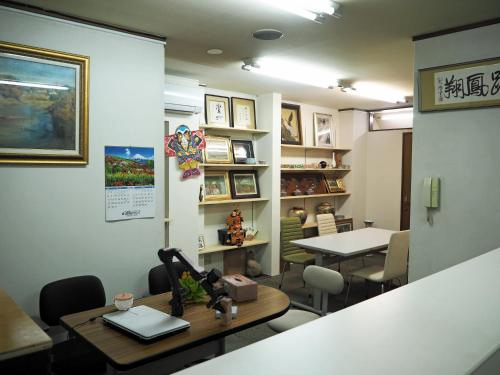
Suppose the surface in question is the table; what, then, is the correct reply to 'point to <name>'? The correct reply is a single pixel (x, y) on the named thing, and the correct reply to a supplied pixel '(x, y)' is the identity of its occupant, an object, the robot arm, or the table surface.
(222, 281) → the tissue box cover
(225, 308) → the walnut block
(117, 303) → the lidded jar
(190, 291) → the potted flower
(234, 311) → the slate base
